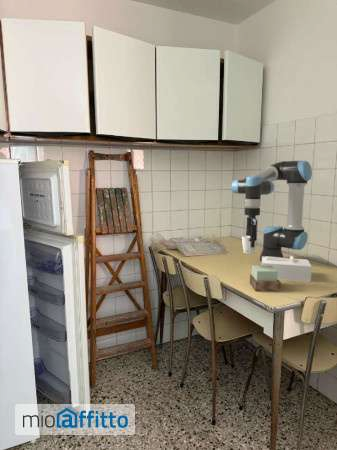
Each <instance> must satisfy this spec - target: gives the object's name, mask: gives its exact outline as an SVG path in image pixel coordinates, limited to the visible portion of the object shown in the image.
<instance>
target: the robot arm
mask: <svg viewBox="0 0 337 450" xmlns="http://www.w3.org/2000/svg"><path fill="white" fill-rule="evenodd" d="M312 175H313V170H312V166H311V164H310V162H309V161H307V160H290V161H289V160H287V161H286V160H283V161H279V162H276V163H273V164H271V165H269V166H266V167H265V168H264V169H263V170H261V171H259V172H257V173H254V174H252V175H250V176H247V177H245V178H243V179H235V180H233V181H232V183H231V191H232V192H233V193H234V194H239V195H245V200H244V201H243V203H244V215H245V216H247V217H246V230H245V236H250V240H249V241H250V243H249V253H248V254H251V255H252V254H255V253H256V251H255V249H256V241H258V240H257V239H258V238H257V235H258V220H257V216H260V215H261V208H260V207H261V201H262V200H261V197H262V196H264V195H265V196H267V195H270V194H272V193H273V192H274V189H275V185H274V181H286V184H287V186H288V198H287V199H288V200H287V216H286V217H287V218H286V225H284V226H282V225H273V226H266V227H264V229H263V238H262V240H263V243H262V250H261V253H260V256H259V261H260V262H262V256H263V257H266V256H270V257H281V258H284V255H283V250H282V248H285V249H290V250H294V251H295V250H296V251H301V250H303V249H304V248H305V247H306V244H307V242H308V235H309V234H308V233H307V231H305V227H304V226H303V213H304V212H303V211H304V197H305V186H307V185H308V181H311V179H312Z"/></svg>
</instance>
